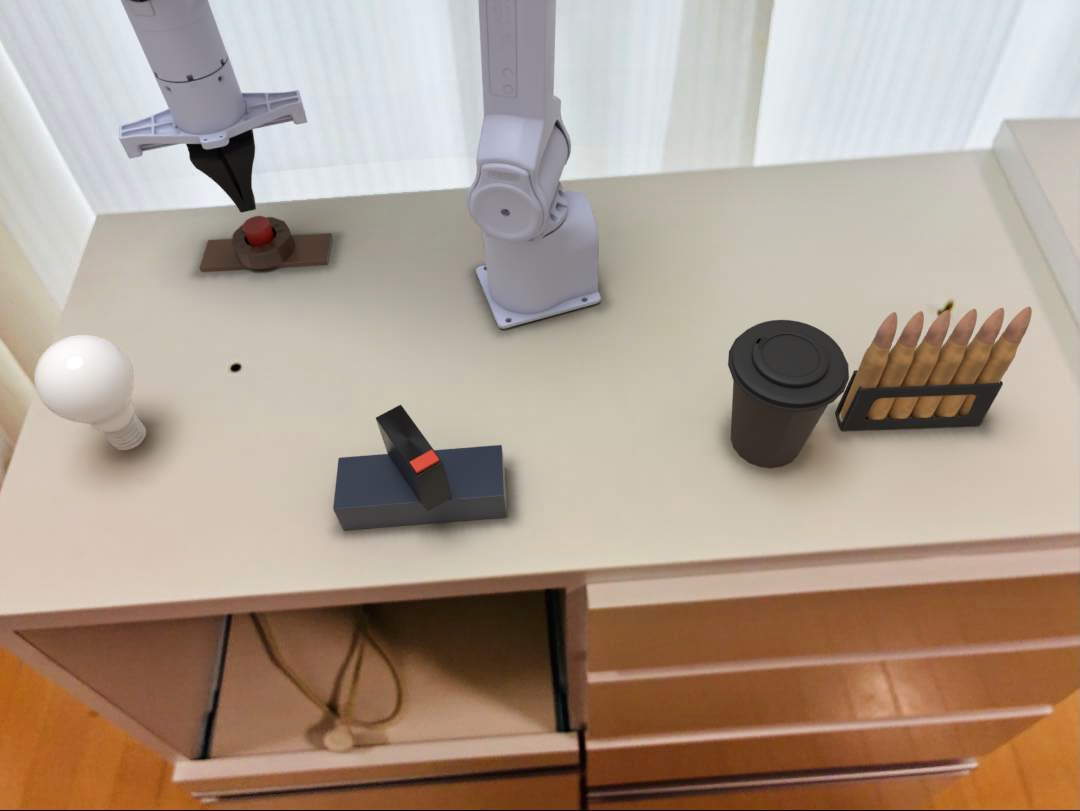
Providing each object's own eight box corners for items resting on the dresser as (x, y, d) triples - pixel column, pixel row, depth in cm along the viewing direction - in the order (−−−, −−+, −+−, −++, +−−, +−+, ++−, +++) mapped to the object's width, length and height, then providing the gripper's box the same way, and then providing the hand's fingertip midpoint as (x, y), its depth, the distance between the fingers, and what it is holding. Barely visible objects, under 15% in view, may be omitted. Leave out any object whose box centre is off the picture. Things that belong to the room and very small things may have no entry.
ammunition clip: (839, 431, 63) (884, 323, 54) (834, 412, 65) (876, 303, 55) (980, 426, 63) (1049, 316, 54) (972, 406, 64) (1039, 296, 55)
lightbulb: (149, 480, 63) (80, 390, 55) (76, 468, 64) (-4, 378, 56) (186, 415, 67) (127, 322, 59) (117, 405, 68) (48, 311, 60)
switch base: (504, 467, 63) (501, 444, 60) (507, 517, 60) (504, 495, 58) (347, 479, 63) (338, 457, 60) (343, 530, 60) (332, 509, 58)
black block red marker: (387, 454, 60) (374, 415, 57) (411, 441, 61) (400, 401, 57) (427, 512, 57) (416, 475, 53) (452, 498, 58) (442, 460, 54)
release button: (276, 229, 78) (270, 214, 77) (272, 246, 77) (266, 231, 75) (251, 230, 78) (245, 216, 77) (246, 247, 77) (240, 233, 75)
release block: (333, 233, 80) (327, 213, 79) (326, 270, 77) (320, 251, 75) (211, 239, 81) (202, 220, 79) (199, 277, 77) (190, 258, 75)
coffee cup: (707, 397, 66) (724, 310, 58) (810, 397, 66) (841, 309, 58) (717, 483, 61) (737, 400, 53) (829, 484, 61) (865, 400, 53)
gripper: (90, 109, 60) (165, 251, 71) (290, 70, 62) (333, 214, 73) (94, 60, 64) (164, 201, 75) (280, 26, 66) (323, 167, 77)
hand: (247, 204), depth 74 cm, fingers closed
